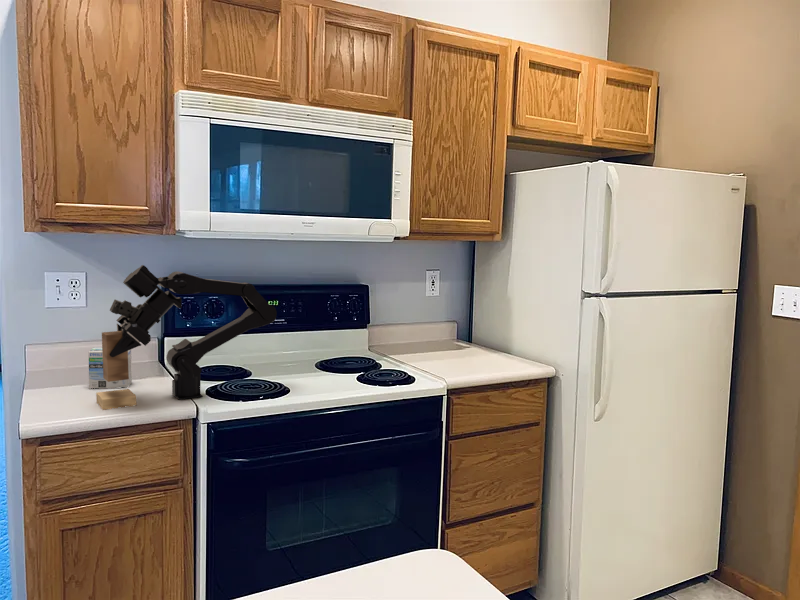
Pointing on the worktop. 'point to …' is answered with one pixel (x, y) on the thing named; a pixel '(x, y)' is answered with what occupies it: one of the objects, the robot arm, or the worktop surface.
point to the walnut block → (113, 358)
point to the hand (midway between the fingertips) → (109, 354)
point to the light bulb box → (97, 371)
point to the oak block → (115, 399)
